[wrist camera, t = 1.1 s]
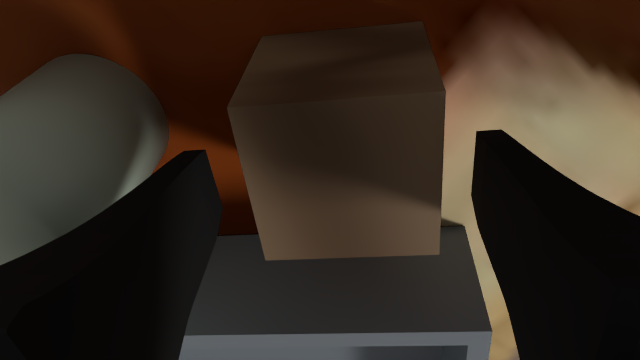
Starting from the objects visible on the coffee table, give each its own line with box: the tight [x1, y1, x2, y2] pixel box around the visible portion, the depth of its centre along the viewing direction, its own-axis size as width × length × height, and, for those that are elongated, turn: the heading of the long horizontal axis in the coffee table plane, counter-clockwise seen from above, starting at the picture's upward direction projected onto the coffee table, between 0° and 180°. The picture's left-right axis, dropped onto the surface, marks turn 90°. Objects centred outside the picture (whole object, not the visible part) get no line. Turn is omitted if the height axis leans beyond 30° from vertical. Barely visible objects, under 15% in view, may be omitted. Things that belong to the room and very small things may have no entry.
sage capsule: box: [0, 54, 169, 265], centre depth 15 cm, size 5×5×7 cm
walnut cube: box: [227, 21, 446, 260], centre depth 14 cm, size 5×5×5 cm
